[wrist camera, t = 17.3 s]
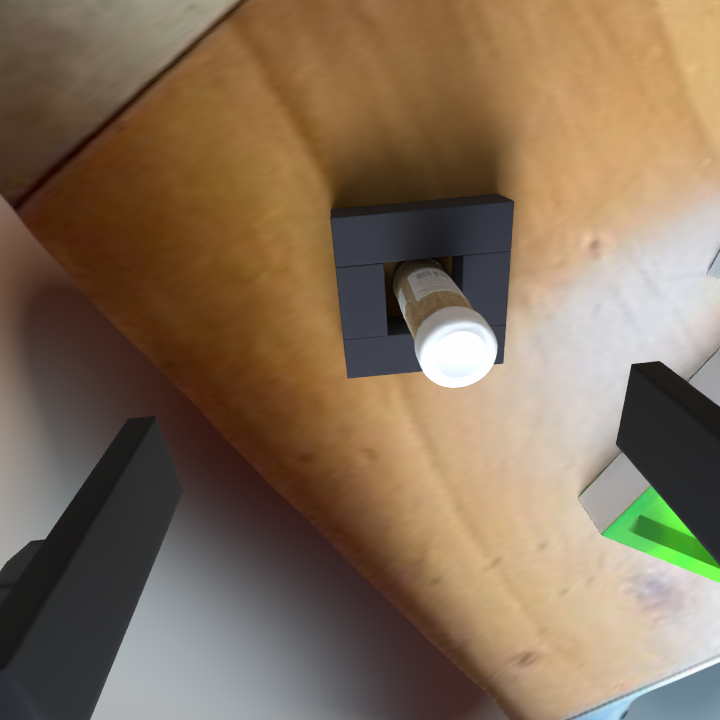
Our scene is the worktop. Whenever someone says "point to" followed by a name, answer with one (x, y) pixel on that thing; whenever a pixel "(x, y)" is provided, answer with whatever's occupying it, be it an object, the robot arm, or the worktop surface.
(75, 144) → the worktop surface
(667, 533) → the green board game box
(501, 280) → the dark grey square frame
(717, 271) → the small box
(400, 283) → the sprinkles bottle
